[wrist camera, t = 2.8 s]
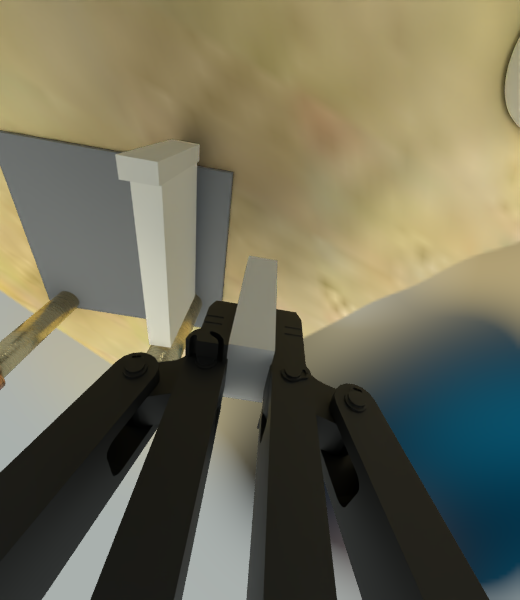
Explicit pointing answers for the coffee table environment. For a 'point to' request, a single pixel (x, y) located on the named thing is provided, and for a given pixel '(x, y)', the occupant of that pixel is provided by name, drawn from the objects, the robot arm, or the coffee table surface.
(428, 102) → the coffee table surface
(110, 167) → the mat
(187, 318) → the hinge post
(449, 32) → the coffee table surface
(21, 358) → the brass capped rod
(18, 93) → the coffee table surface
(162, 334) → the beige piece
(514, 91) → the cup
